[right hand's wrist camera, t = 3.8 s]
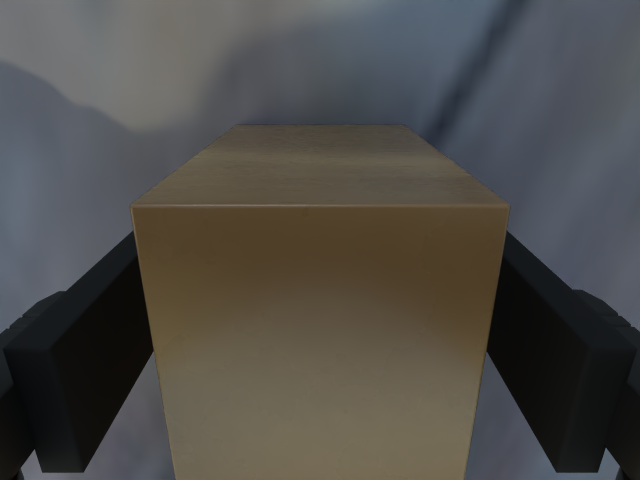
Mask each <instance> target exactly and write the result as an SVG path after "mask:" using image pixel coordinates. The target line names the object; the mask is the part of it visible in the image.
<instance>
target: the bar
mask: <svg viewBox="0 0 640 480" xmlns="http://www.w3.org/2000/svg"><path fill="white" fill-rule="evenodd" d="M130 212H131V218H132V224H133V230H134V236H135V242H136V248H137V254H138V260H139V266H140V272H141V277H142V283H143V289H144V295H145V301H146V307H147V313H148V319H149V325H150V331H151V337H152V343H153V348H154V354H155V360H156V366H157V372H158V378H159V384H160V390H161V396H162V402H163V408H164V413H165V419H166V425H167V431H168V437H169V443H170V449H171V455H172V461H173V467H174V473H175V479H176V480H464V479H465V473H466V468H467V462H468V456H469V450H470V444H471V438H472V432H473V426H474V420H475V414H476V408H477V403H478V397H479V391H480V385H481V379H482V373H483V367H484V361H485V355H486V349H487V343H488V338H489V332H490V326H491V320H492V314H493V308H494V302H495V296H496V290H497V284H498V278H499V273H500V267H501V261H502V255H503V249H504V243H505V237H506V231H507V225H508V219H509V213H510V204H509V203H507V202H506V201H505V200H503V199H502V198H501V197H499V196H498V195H497V194H495V193H494V192H493V191H491V190H490V189H489V188H487V187H486V186H485V185H483V184H482V183H481V182H479V181H478V180H477V179H475V178H474V177H473V176H471V175H470V174H469V173H467V172H466V171H465V170H463V169H462V168H461V167H459V166H458V165H457V164H455V163H454V162H453V161H451V160H450V159H449V158H447V157H446V156H445V155H443V154H442V153H441V152H440V151H438V150H437V149H436V148H434V147H433V146H432V145H430V144H429V143H428V142H426V141H425V140H424V139H422V138H421V137H420V136H418V135H417V134H416V133H414V132H413V131H412V130H410V129H409V128H408V127H406V126H405V125H235V126H234V127H232V128H231V129H230V130H229V131H227V132H226V133H225V134H223V135H222V136H221V137H219V138H218V139H217V140H215V141H214V142H213V143H211V144H210V145H209V146H207V147H206V148H205V149H203V150H202V151H201V152H199V153H198V154H197V155H195V156H194V157H193V158H191V159H190V160H189V161H187V162H186V163H185V164H183V165H182V166H181V167H179V168H178V169H177V170H175V171H174V172H173V173H171V174H170V175H169V176H167V177H166V178H165V179H163V180H162V181H161V182H159V183H158V184H157V185H156V186H154V187H153V188H152V189H150V190H149V191H148V192H146V193H145V194H144V195H142V196H141V197H140V198H138V199H137V200H136V201H134V202H133V203H132V204H131V205H130Z"/></svg>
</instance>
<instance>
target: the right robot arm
mask: <svg viewBox="0 0 640 480" xmlns="http://www.w3.org/2000/svg"><path fill="white" fill-rule="evenodd" d="M153 351H154V348H153V343H152V337H151V331H150V325H149V319H148V313H147V307H146V301H145V295H144V289H143V283H142V277H141V272H140V266H139V260H138V254H137V248H136V242H135V236H134V230H133V231H132V232H131V233H130V234H129V235H128V236H127V237H125V238H124V239H123V240H122V241H121V242H120V243H119V244H118V245H117V246H116V247H114V248H113V249H112V250H111V251H110V252H109V253H108V254H107V255H106V256H104V257H103V258H102V259H101V260H100V261H99V262H98V263H97V264H96V265H94V266H93V267H92V268H91V269H90V270H89V271H88V272H87V273H86V274H85V275H83V276H82V277H81V278H80V279H79V280H78V281H77V282H76V283H75V284H73V285H72V286H71V287H70V288H69V289H68V290H67V291H59V292H57V293H55V294H53V295H51V296H49V297H47V298H45V299H43V300H41V301H39V302H37V303H36V304H35V305H34V306H33V307H31V308H30V309H29V310H28V311H27V312H26V313H24V314H23V317H22V318H19V319H17V320H16V321H15V322H14V323H13V324H11V325H10V329H6V330H4V331H3V332H2V333H1V334H0V480H24V476H23V473H22V471H21V467H22V465H23V464H24V463H25V461H26V460H27V459H28V457H29V456H30V455H31V453H32V452H33V450H34V449H35V451H36V454H37V458H38V461H39V464H40V467H41V470H42V473H84V471H85V469H86V467H87V466H88V464H89V462H90V460H91V459H92V457H93V455H94V453H95V452H96V450H97V448H98V447H99V445H100V443H101V441H102V440H103V438H104V436H105V434H106V433H107V431H108V429H109V427H110V426H111V424H112V422H113V420H114V419H115V417H116V415H117V413H118V412H119V410H120V408H121V407H122V405H123V403H124V401H125V400H126V398H127V396H128V394H129V393H130V391H131V389H132V387H133V386H134V384H135V382H136V380H137V379H138V377H139V375H140V374H141V372H142V370H143V368H144V367H145V365H146V363H147V361H148V360H149V358H150V356H151V354H152V353H153ZM486 351H487V353H488V354H489V356H490V358H491V360H492V361H493V363H494V365H495V367H496V368H497V370H498V372H499V374H500V375H501V377H502V379H503V380H504V382H505V384H506V386H507V387H508V389H509V391H510V393H511V394H512V396H513V398H514V400H515V401H516V403H517V405H518V407H519V408H520V410H521V412H522V413H523V415H524V417H525V419H526V420H527V422H528V424H529V426H530V427H531V429H532V431H533V433H534V434H535V436H536V438H537V440H538V441H539V443H540V445H541V446H542V448H543V450H544V452H545V453H546V455H547V457H548V459H549V460H550V462H551V464H552V466H553V467H554V469H555V471H556V473H598V470H599V467H600V464H601V461H602V458H603V455H604V451H605V448H607V449H608V451H609V452H610V453H611V455H612V456H613V457H614V459H615V460H616V461H617V463H618V464H619V465H620V468H619V471H618V473H617V476H616V479H615V480H640V332H639V331H638V330H637V329H636V328H635V327H631V324H630V323H629V322H628V321H626V320H625V319H624V318H623V317H622V316H618V313H617V312H616V311H615V310H613V309H612V308H611V307H610V306H609V305H607V304H606V303H605V302H604V301H603V300H601V299H599V298H597V297H595V296H593V295H591V294H589V293H587V292H585V291H583V290H572V289H571V288H570V287H569V286H568V285H567V284H565V283H564V282H563V281H562V280H561V279H560V278H559V277H558V276H557V275H555V274H554V273H553V272H552V271H551V270H550V269H549V268H548V267H547V266H546V265H544V264H543V263H542V262H541V261H540V260H539V259H538V258H537V257H536V256H534V255H533V254H532V253H531V252H530V251H529V250H528V249H527V248H526V247H525V246H523V245H522V244H521V243H520V242H519V241H518V240H517V239H516V238H515V237H513V236H512V235H511V234H510V233H509V232H508V231H506V237H505V243H504V249H503V255H502V261H501V267H500V273H499V278H498V284H497V290H496V296H495V302H494V308H493V314H492V320H491V326H490V332H489V338H488V343H487V349H486Z"/></svg>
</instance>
